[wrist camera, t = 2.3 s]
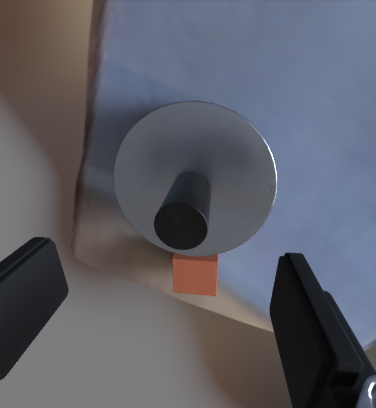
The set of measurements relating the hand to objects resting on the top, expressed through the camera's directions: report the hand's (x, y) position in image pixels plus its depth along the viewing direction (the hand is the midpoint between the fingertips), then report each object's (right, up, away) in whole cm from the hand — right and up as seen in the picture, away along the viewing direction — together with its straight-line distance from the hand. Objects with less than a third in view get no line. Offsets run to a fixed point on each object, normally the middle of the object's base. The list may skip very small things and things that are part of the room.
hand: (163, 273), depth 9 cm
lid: (+1, +4, +8) cm, 9 cm away
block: (+2, -3, +21) cm, 21 cm away
